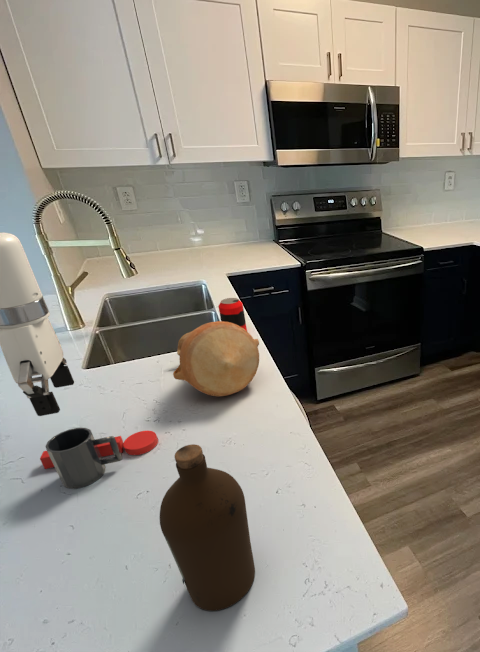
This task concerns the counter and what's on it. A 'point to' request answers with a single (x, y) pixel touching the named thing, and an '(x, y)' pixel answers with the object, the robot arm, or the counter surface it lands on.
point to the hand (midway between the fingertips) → (57, 398)
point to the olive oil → (208, 532)
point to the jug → (217, 358)
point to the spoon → (132, 446)
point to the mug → (80, 456)
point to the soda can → (232, 312)
